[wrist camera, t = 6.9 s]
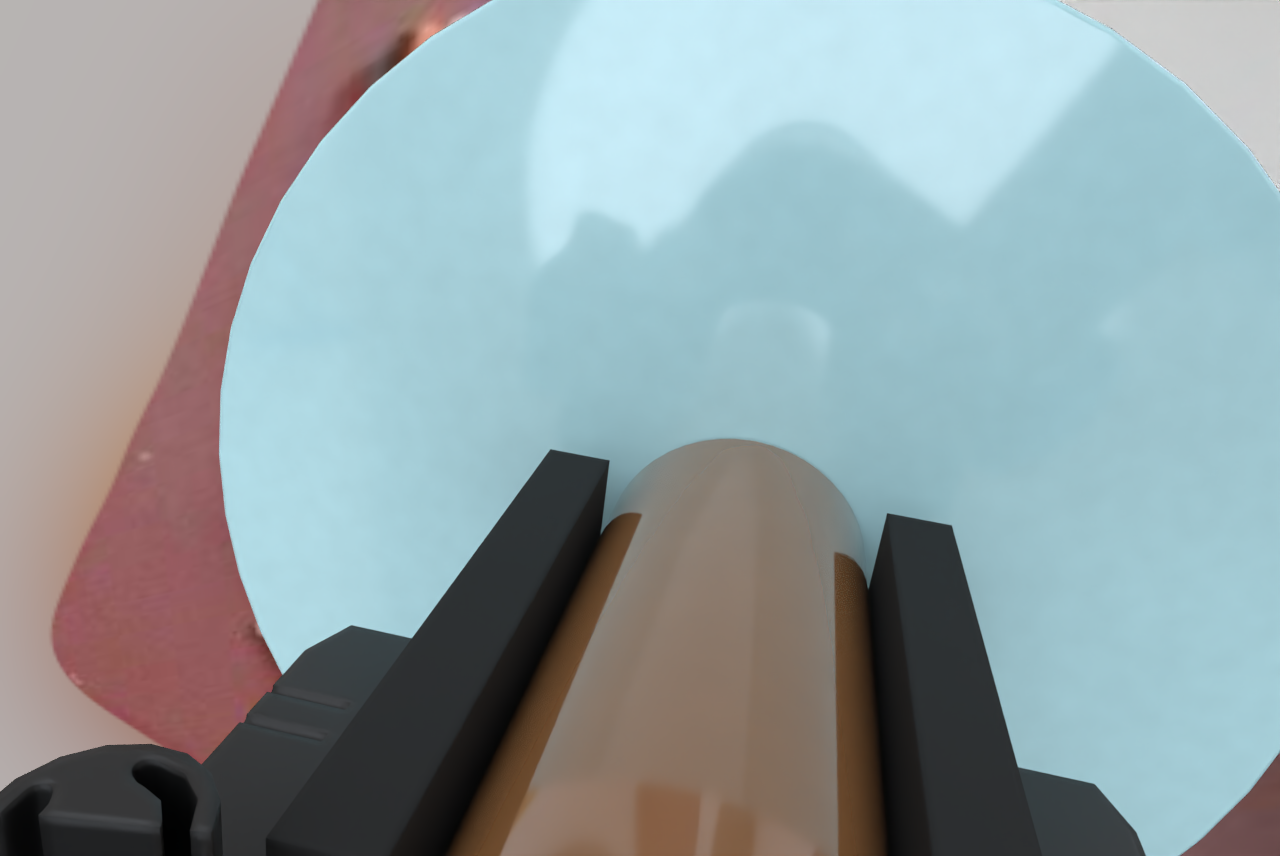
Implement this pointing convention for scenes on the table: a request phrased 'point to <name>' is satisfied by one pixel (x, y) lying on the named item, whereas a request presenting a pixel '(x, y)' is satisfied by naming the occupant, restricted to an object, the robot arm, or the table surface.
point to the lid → (783, 400)
